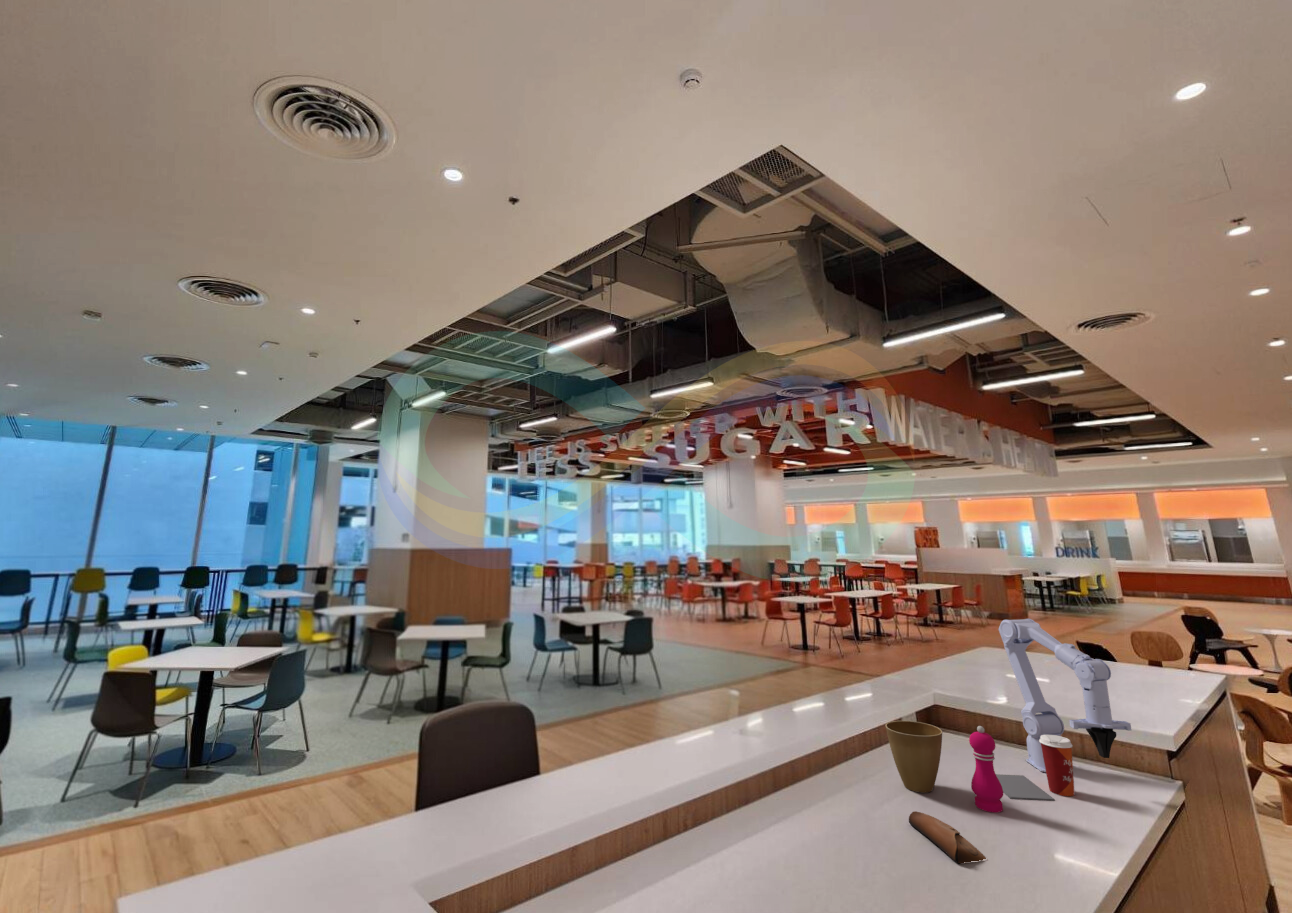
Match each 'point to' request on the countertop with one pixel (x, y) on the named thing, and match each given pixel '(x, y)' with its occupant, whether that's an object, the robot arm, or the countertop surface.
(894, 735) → the plant pot
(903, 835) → the countertop surface
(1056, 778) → the paper cup
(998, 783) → the pepper mill
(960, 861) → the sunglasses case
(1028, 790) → the mat
